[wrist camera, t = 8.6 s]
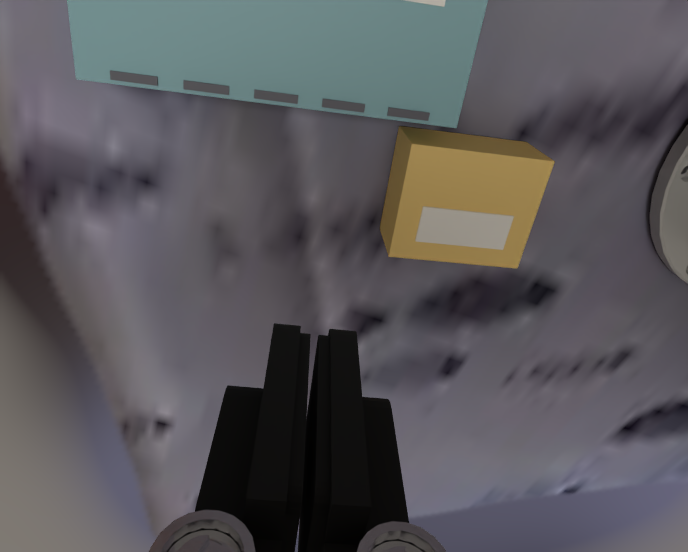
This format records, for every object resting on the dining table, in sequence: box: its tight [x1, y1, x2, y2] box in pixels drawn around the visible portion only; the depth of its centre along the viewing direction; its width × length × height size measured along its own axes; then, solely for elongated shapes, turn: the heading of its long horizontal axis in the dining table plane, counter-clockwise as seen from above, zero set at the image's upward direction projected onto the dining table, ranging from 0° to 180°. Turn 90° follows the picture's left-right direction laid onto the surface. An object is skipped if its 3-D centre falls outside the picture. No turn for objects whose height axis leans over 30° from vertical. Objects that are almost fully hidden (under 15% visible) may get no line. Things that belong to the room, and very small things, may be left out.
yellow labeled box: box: [380, 126, 555, 268], centre depth 23 cm, size 6×5×3 cm
